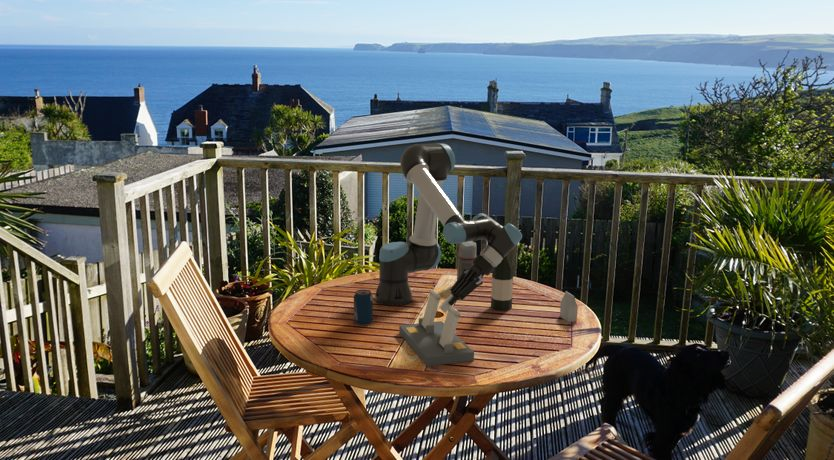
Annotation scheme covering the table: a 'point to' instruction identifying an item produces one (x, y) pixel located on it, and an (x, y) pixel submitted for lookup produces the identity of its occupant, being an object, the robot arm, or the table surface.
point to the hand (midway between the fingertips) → (441, 310)
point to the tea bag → (568, 308)
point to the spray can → (466, 256)
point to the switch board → (435, 344)
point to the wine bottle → (502, 285)
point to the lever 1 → (431, 309)
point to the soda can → (363, 307)
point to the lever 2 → (449, 326)
